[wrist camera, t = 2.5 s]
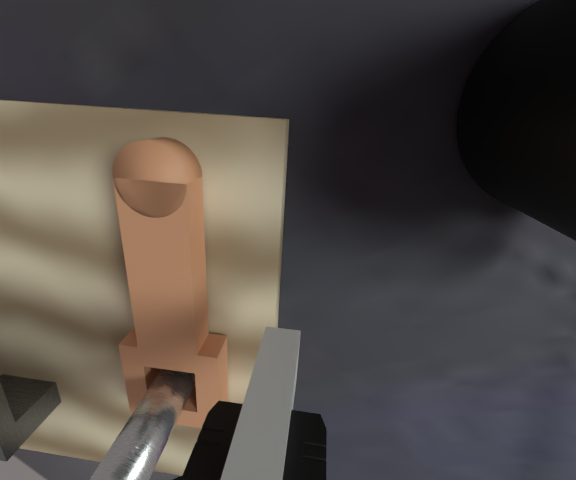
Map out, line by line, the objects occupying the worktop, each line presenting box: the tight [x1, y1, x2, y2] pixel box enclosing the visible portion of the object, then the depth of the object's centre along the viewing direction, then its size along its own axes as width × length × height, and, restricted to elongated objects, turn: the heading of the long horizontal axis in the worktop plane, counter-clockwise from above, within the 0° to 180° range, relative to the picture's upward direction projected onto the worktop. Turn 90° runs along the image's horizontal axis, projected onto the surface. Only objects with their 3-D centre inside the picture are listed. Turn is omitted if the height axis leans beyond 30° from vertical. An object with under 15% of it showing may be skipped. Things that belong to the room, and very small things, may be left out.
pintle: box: [90, 369, 195, 480], centre depth 18 cm, size 2×2×8 cm
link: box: [112, 137, 228, 428], centre depth 19 cm, size 18×6×2 cm, turn 177°
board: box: [0, 100, 289, 476], centre depth 22 cm, size 28×22×1 cm
